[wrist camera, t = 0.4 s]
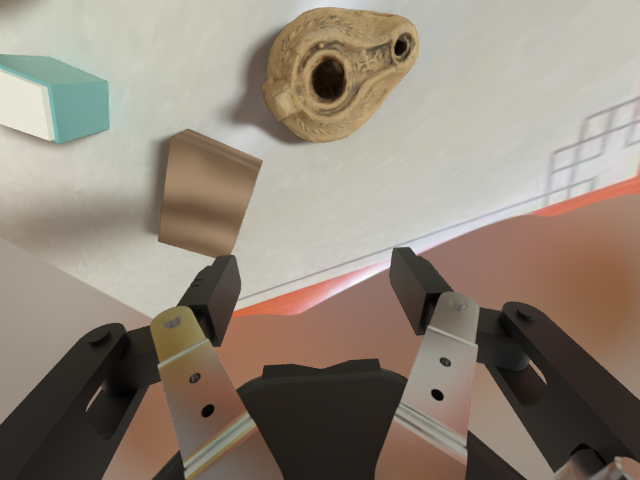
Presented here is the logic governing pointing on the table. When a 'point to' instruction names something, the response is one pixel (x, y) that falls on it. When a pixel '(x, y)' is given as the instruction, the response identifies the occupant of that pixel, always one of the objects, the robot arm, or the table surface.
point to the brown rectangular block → (205, 194)
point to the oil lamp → (336, 69)
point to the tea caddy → (51, 98)
